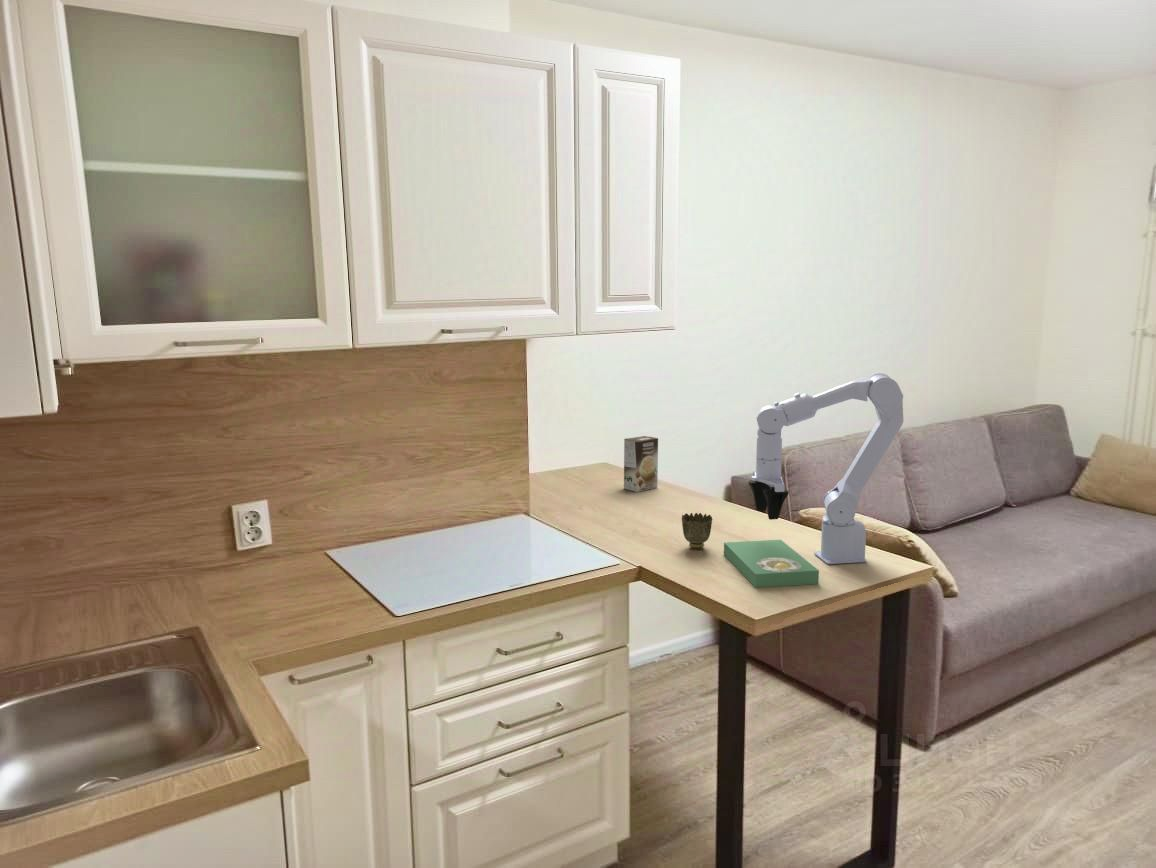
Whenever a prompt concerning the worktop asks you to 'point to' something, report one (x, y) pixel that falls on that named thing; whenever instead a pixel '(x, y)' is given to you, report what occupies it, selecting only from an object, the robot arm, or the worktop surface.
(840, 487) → the robot arm
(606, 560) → the worktop surface
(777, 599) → the worktop surface
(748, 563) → the green rectangular slab
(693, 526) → the cup
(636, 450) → the coffee box
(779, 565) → the ball
